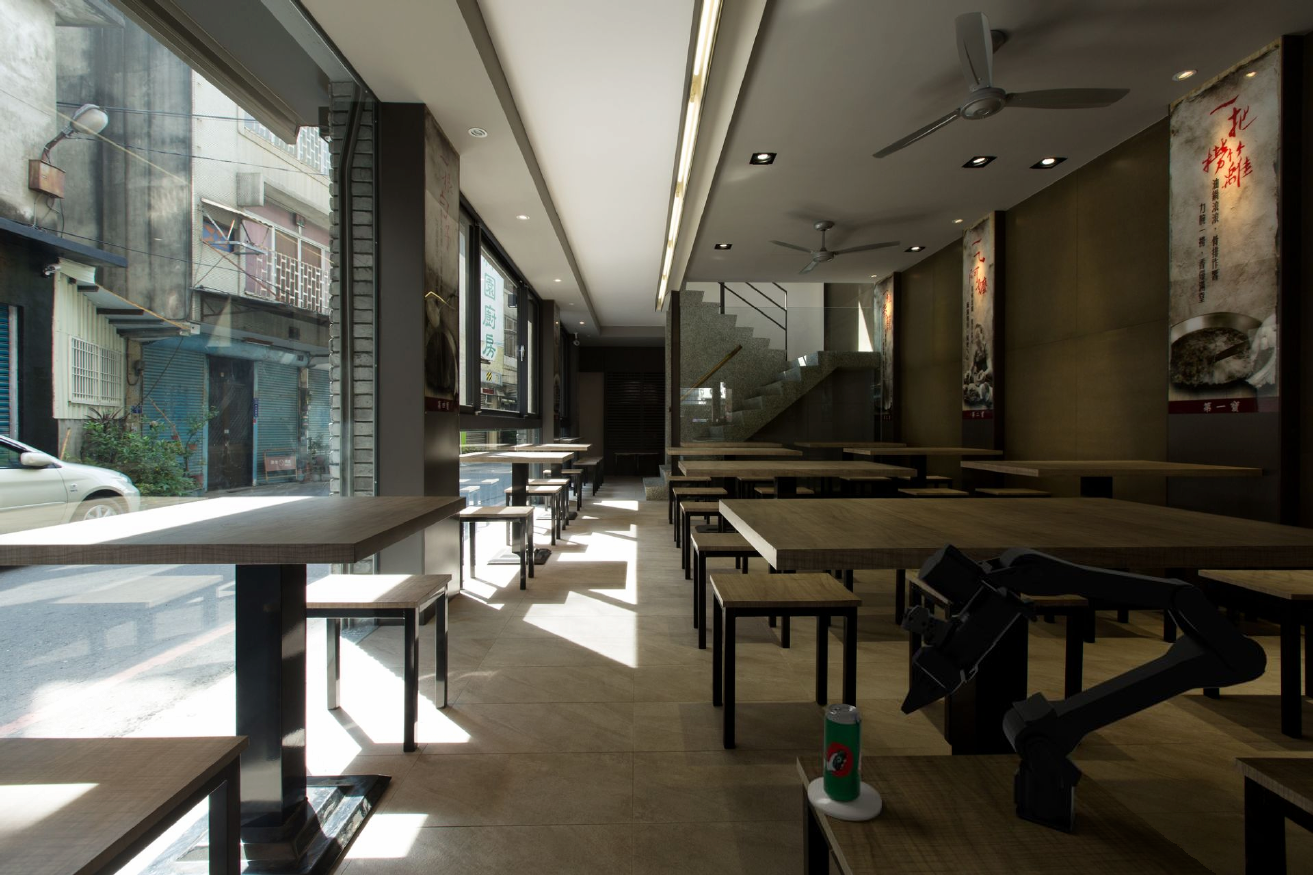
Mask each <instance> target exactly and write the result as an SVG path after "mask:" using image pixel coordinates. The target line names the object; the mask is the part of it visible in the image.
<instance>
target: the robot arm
mask: <svg viewBox="0 0 1313 875" xmlns="http://www.w3.org/2000/svg"><path fill="white" fill-rule="evenodd" d="M985 578H986V579H987V580H989V581H990V582H991V583H993V584H994V585H996V586H997V587H999V588H997V589H996V588H995V587H993V586H991V585H990V584H988V583H987V582H986V581H984V580H983V579H985ZM917 579H918V580H919V581H920V582H922V583H923V584H924V585H926V586H927V587H928V588H930V589H931V590H933V591H934V592H936V593H937V594H939V595H940V596H941V597H942V598H944V599H945V600H947V601H948V602H949V603H950V604H952V605H955V604H958V603H959V602H960V603H961V604H966V603H967V604H966V605H965V606H964V607H963V609H962V610H961V611H960V613H959V614H958V615H955V616H954V615H953V616H950V618H949V619H945V618H943V617H941V616H938V615H935V614H933V613H931V611H930V609H929V608H928V607H927V608H926V607H923V606H921V605H919V604H917V605H916V606H915V607H914V606H907V607H906V609H905V612H904V613H903V614H902V622H901V625H900V628H901V629H903V630H905V631H907V632H911V631H912V632H914V633H916V634H919V635H921V636H924V637H926V638H928V639H931V640H930V642H929V644H931V645H924V646H920V647H919V648H918V650H917V651H916V652H915V653H914V654H913V656H912V657H911V659H912V660H911V663H912V666H913V670H914V674H915V678H914V679H913V682H912V684H911V686H910V688H909V690H908V692H907V694H906V697H905V699H904V700H903V703H902V704H901V707H900V711H902V712H903V713H904V714H905V715H907V716H908V715H911V714H912V713H915V712H917V711H918V710H921V709H922V708H925V707H926V706H928V705H931V704H932V703H935V702H937V701H939V700H941V699H944V698H946V697H947V696H950V695H952V694H953V693H954V692H956V691H957V689H958V688H959V687H962V686H963V685H964V684H966V683H967V682H969V681H970V680H971V679H972V678H973V677H974V676H975V675H976V673H977V672H978V671H979V666H978V664H980V662H981V661H982V660H983V659H984V657H985V656H986V655H987V654H988V653H989V652H990V650H992V649H993V648H994V646H996V644H997V642H999V640H1000V638H1001V637H1002V636H1003V635H1004V634H1005V632H1006V631H1007V630H1008V629H1009V628H1010V627H1011V625H1012V624H1013V623H1014V622H1015V621H1016V619H1018V617H1019V616H1020V615H1022V616H1024V617H1025V618H1026V619H1027V620H1029V621H1031V622H1032V623H1037V622H1038V620H1039V619H1038V616H1037V613H1036V602H1035V601H1034V600H1033V599H1032V598H1030V597H1050V598H1051V597H1063V596H1065V597H1066V596H1083V597H1085V596H1086V597H1089V598H1090V597H1091V598H1096V599H1100V600H1101V599H1102V600H1108V601H1113V602H1114V601H1115V602H1118V603H1124V604H1130V605H1137V606H1143V607H1147V608H1148V607H1149V608H1154V609H1158V610H1159V609H1160V610H1163V611H1167V612H1168V613H1169V615H1170V617H1171V618H1172V620H1173V622H1174V624H1175V625H1176V626H1177V628H1178V630H1180V631H1181V633H1182V635H1180V636H1179V637H1178V638H1176V639H1175V640H1174V642H1173V643H1172V645H1171V646H1170V648H1168V649H1167V651H1166V652H1165V653H1164V654H1163V655H1161V656H1159V657H1157V658H1155V659H1152V660H1151V661H1150V660H1149V662H1146V663H1144V664H1141V665H1139V666H1137V667H1135V668H1132V669H1131V670H1128V671H1126V672H1123V673H1121V674H1118V675H1116V676H1114V677H1112V678H1109V679H1107V680H1105V681H1103V682H1101V683H1098V684H1096V685H1094V686H1091V687H1089V688H1087V689H1084V690H1082V691H1080V692H1078V693H1076V694H1073V695H1071V696H1069V697H1067V698H1064V699H1059V700H1048V698H1046V696H1045V695H1044V694H1043V693H1042V692H1041V691H1038V692H1035V693H1033V694H1032V695H1030V696H1028V698H1025V699H1024V700H1021V701H1013V702H1012V703H1011V704H1012V705H1013V707H1011V708H1010V709H1008V710H1007V711H1006V712H1005V713H1004V717H1003V720H1002V729H1003V732H1004V734H1005V736H1006V737H1007V740H1008V741H1009V743H1010V744H1011V746H1012V748H1013V750H1014V751H1015V752H1016V753H1015V754H1017V755H1018V757H1019V758H1020V759H1021V760H1020V763H1019V765H1018V767H1017V768H1016V770H1015V772H1014V775H1013V804H1014V805H1015V807H1016V808H1015V810H1014V811H1015V813H1014V815H1016V816H1017V817H1020V818H1023V819H1026V820H1029V821H1032V822H1035V823H1038V824H1041V825H1045V826H1047V827H1051V828H1054V829H1058V830H1060V831H1063V832H1067V833H1071V832H1072V830H1073V825H1074V824H1073V823H1074V819H1075V815H1076V808H1075V807H1074V801H1075V800H1074V799H1075V798H1074V796H1075V787H1077V786H1078V784H1079V783H1080V780H1081V778H1082V775H1083V772H1082V771H1081V769H1079V767H1078V766H1077V763H1075V762H1074V760H1073V759H1072V758H1071V756H1070V754H1072V753H1073V752H1074V751H1075V750H1076V749H1077V747H1078V746H1079V745H1080V743H1081V742H1082V740H1083V739H1084V738H1085V737H1086V736H1087V735H1089V734H1092V733H1094V732H1095V731H1096V732H1097V731H1098V730H1100V729H1102V728H1105V727H1107V726H1110V725H1112V724H1115V723H1117V722H1119V721H1122V720H1124V719H1127V718H1128V717H1130V716H1133V715H1136V714H1137V713H1138V714H1139V713H1140V712H1142V711H1144V710H1147V709H1150V708H1152V707H1154V706H1157V705H1159V704H1161V703H1164V702H1166V701H1168V700H1171V699H1172V698H1175V697H1178V696H1180V695H1182V694H1184V693H1187V692H1190V691H1192V690H1197V689H1200V690H1201V689H1220V688H1222V689H1223V688H1224V689H1225V688H1229V687H1233V686H1238V685H1241V684H1242V685H1243V684H1246V683H1250V682H1253V681H1256V680H1257V679H1259V678H1261V677H1262V676H1263V675H1264V674H1265V673H1266V666H1267V664H1268V659H1267V658H1268V657H1267V654H1266V652H1265V649H1264V648H1263V647H1262V645H1261V644H1260V643H1259V642H1258V641H1256V640H1255V639H1253V638H1251V637H1248V636H1247V635H1245V634H1243V633H1242V632H1241V631H1240V630H1239V628H1238V627H1237V626H1236V625H1235V624H1234V623H1232V622H1231V621H1230V620H1229V618H1227V616H1225V614H1223V613H1222V612H1221V611H1220V610H1219V609H1218V608H1217V607H1216V606H1214V605H1213V604H1212V602H1211V601H1210V600H1209V599H1208V598H1207V597H1206V595H1205V594H1204V593H1203V591H1202V590H1201V589H1200V588H1199V587H1197V586H1195V585H1193V584H1191V583H1188V582H1186V581H1183V580H1181V579H1178V578H1173V577H1171V578H1162V577H1158V576H1157V577H1155V576H1150V575H1143V574H1138V573H1132V572H1131V573H1130V572H1126V571H1119V570H1114V569H1113V570H1112V569H1107V568H1103V567H1102V568H1101V567H1100V568H1099V567H1095V566H1088V565H1082V564H1077V563H1073V562H1071V561H1067V560H1065V559H1061V558H1058V557H1056V556H1053V555H1050V554H1047V553H1044V552H1040V551H1038V550H1035V549H1032V548H1029V547H1026V546H1012V547H1010V548H1008V549H1007V550H1006V551H1004V552H1003V553H1002V554H1001V555H1000V556H997V557H993V558H989V559H984V560H982V561H976V562H975V561H974V560H973V559H971V558H969V557H968V556H967V555H965V554H964V553H963V552H961V550H960V549H959V548H957V547H956V545H954V544H953V543H951V542H950V541H949V542H946V543H945V545H944V546H943V547H941V548H940V549H938V550H937V551H935V552H934V554H933V555H932V556H931V555H930V556H929V557H928V558H927V559H926V561H925V562H924V563H923V565H922V566H921V568H920V570H919V571H918V574H917ZM1008 588H1012V589H1014V590H1015V591H1017V592H1018V593H1020V594H1022V595H1025V596H1028V597H1026V598H1021V597H1020V596H1018V595H1016V594H1015V593H1014V592H1013V591H1011V590H1010V589H1008Z"/></svg>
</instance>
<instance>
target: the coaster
mask: <svg viewBox="0 0 1313 875" xmlns="http://www.w3.org/2000/svg"><path fill="white" fill-rule="evenodd" d="M807 798H808V800H809V802H810V804H811V805H812V806H813V807H814V808H815V809H816V810H818V811H819V812H821V813H823V814H825V815H827V816H829V817H832V818H835V819H839V820H843V821H851V822H862V821H869V820H871V819H874V818H876V817H877V816H878V815H880V813H881V812H882V807H883V805H882V803H883V800H882V797H881V795H880V793H879V792H878V791H877V789H875V788H874V787H873V786H871V785H869V784H868V783H867V782H864V781H861V787H860V796H859V797H858V798H857V799H856V800H854V801H852V802H840V801H836V800H834V799H832V798H830V797H829V796H828V795H827V794H826V793H825V791H824V789H823V776H822V777H817V778H816V779H814V780H812V781H811V782H810V784H808V787H807Z"/></svg>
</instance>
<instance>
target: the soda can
mask: <svg viewBox="0 0 1313 875" xmlns="http://www.w3.org/2000/svg"><path fill="white" fill-rule="evenodd" d="M823 727H824V729H823V732H824V733H823V774H822V775H823V776H822V777H823V789H824V791H825V793H826V794H827V795H828V796H829V797H830V798H832V799H834V800H836V801H840V802H852V801H854V800H856V799H857V798H858V797H859V796H860V787H861V780H862V779H861V778H862V777H861V776H862V738H863V737H862V736H863V735H862V733H863V719H862V717H861V715H860V710H859V709H858V708H857V707H855V706H853V705H851V704H847V703H832V704H830V705H828V706H827V710H826V711H825V713H824V726H823Z"/></svg>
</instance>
